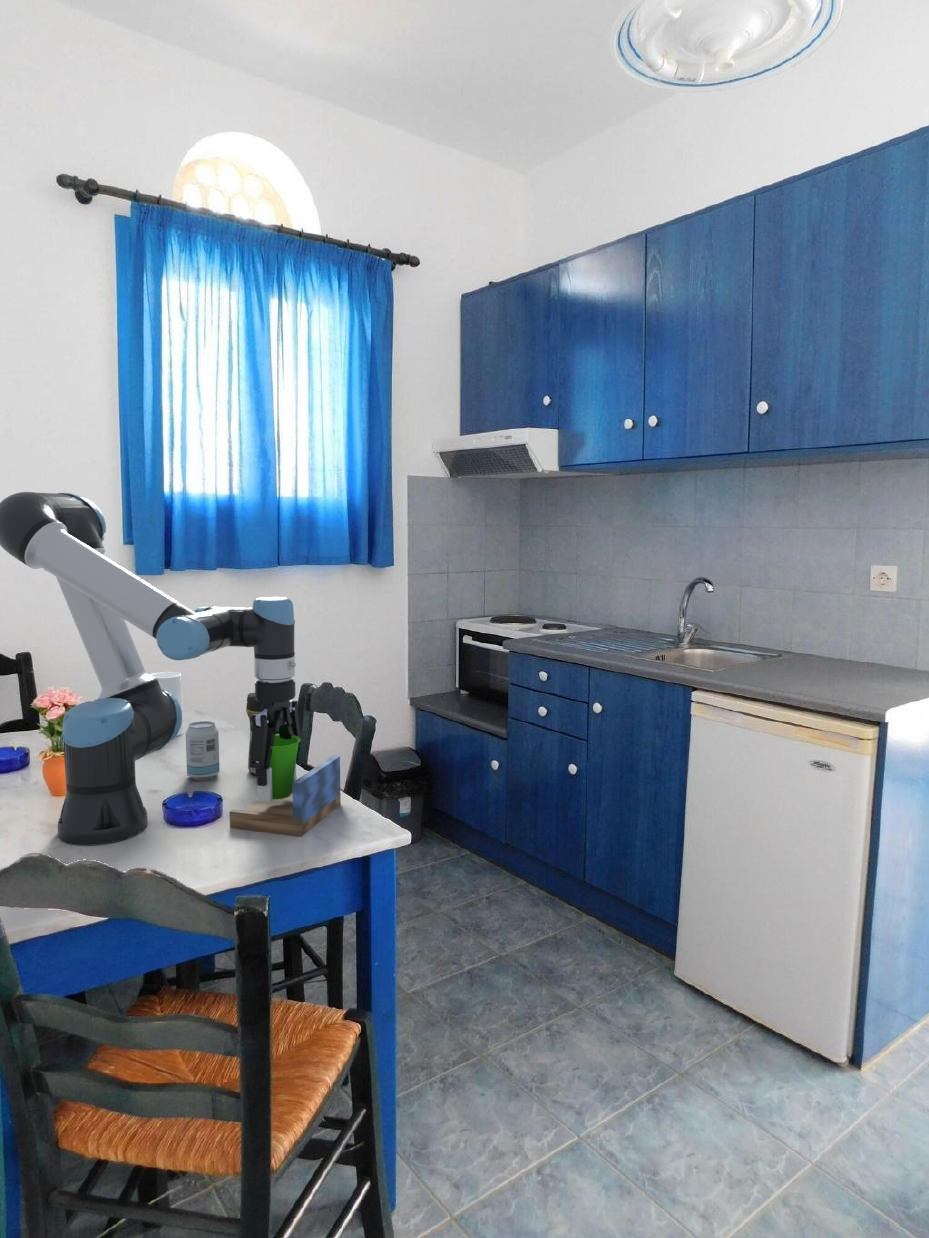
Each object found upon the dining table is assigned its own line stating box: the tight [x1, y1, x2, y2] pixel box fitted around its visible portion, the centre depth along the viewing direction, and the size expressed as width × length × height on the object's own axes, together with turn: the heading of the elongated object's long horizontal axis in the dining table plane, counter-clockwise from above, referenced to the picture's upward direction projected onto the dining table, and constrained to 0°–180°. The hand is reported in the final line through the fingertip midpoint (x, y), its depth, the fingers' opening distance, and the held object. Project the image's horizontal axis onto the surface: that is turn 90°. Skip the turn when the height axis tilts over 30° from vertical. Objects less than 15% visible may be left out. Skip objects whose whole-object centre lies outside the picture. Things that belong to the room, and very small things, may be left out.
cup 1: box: [149, 671, 184, 737], centre depth 214 cm, size 8×8×16 cm
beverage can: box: [185, 720, 221, 782], centre depth 178 cm, size 7×7×12 cm
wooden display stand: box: [229, 755, 342, 837], centre depth 156 cm, size 17×14×10 cm
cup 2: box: [269, 734, 302, 799], centre depth 156 cm, size 9×9×11 cm
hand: (277, 792), depth 156 cm, fingers closed on cup 2, 9 cm apart
